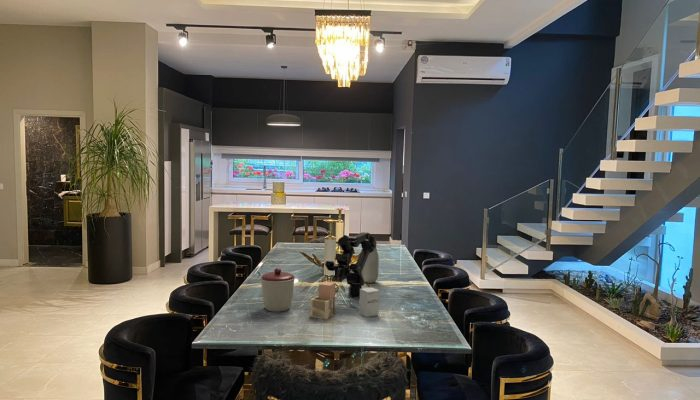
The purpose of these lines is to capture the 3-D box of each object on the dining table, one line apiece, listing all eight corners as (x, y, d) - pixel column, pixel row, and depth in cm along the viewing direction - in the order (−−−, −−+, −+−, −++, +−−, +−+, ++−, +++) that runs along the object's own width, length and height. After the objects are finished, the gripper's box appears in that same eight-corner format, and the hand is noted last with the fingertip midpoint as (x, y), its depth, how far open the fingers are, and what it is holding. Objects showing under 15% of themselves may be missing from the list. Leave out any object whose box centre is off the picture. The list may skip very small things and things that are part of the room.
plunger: (324, 308, 254) (324, 281, 252) (335, 310, 251) (335, 282, 250) (318, 311, 248) (319, 284, 247) (329, 313, 246) (329, 285, 245)
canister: (293, 302, 266) (293, 263, 264) (297, 313, 248) (297, 271, 247) (259, 304, 262) (259, 265, 260) (260, 315, 244) (260, 273, 243)
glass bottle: (371, 279, 318) (372, 236, 316) (381, 283, 310) (381, 238, 307) (358, 281, 313) (359, 237, 310) (368, 285, 304) (368, 239, 302)
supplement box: (366, 317, 243) (366, 292, 242) (359, 313, 250) (359, 288, 249) (379, 315, 247) (379, 290, 246) (371, 311, 253) (372, 286, 252)
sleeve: (317, 312, 251) (317, 295, 250) (334, 314, 247) (334, 297, 246) (310, 316, 244) (310, 299, 243) (327, 319, 240) (327, 301, 239)
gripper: (326, 245, 267) (316, 270, 258) (358, 248, 259) (349, 274, 250) (333, 257, 275) (323, 281, 266) (364, 261, 267) (355, 286, 258)
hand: (337, 280), depth 260 cm, fingers closed
